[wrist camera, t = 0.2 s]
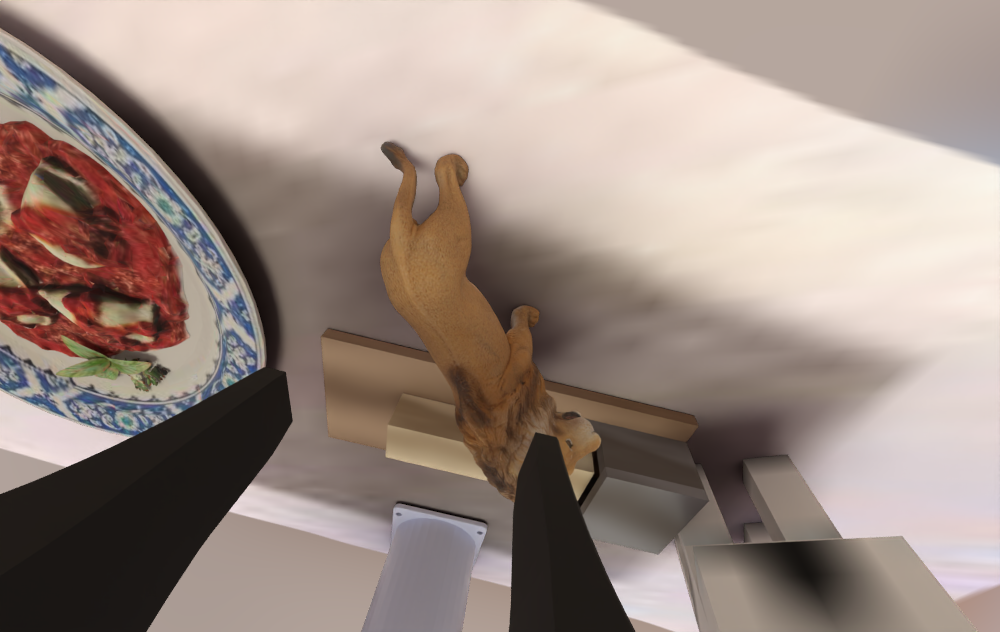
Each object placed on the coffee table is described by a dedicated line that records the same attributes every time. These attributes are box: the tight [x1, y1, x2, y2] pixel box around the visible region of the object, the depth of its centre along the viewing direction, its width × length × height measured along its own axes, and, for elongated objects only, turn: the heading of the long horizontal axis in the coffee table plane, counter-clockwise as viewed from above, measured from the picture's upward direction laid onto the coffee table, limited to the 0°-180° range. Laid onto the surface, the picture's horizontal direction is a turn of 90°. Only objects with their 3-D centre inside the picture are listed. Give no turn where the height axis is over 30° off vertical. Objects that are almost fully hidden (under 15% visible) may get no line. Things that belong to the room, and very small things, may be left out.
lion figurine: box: [380, 142, 601, 502], centre depth 15 cm, size 15×5×9 cm, turn 34°
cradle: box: [321, 329, 709, 554], centre depth 22 cm, size 9×22×4 cm, turn 78°
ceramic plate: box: [0, 28, 266, 437], centre depth 20 cm, size 26×26×3 cm
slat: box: [386, 393, 594, 501], centre depth 22 cm, size 3×12×2 cm, turn 78°
